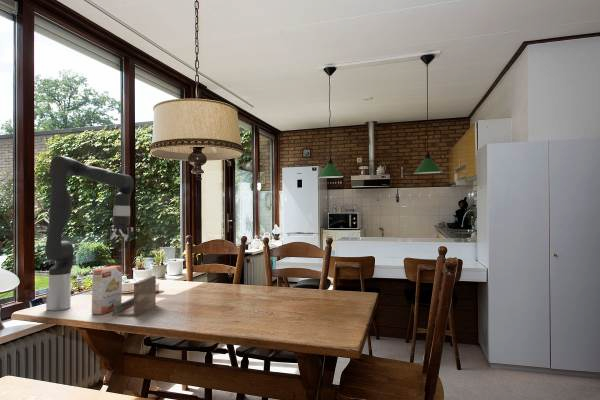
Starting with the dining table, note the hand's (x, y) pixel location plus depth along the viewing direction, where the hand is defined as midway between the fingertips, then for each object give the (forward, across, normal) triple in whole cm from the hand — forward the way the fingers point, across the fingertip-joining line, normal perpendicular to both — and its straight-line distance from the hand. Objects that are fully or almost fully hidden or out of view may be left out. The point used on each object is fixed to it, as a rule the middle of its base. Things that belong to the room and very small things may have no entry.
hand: (120, 247), depth 182 cm
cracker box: (+31, -3, -3) cm, 31 cm away
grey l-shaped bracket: (+30, +9, +2) cm, 31 cm away
